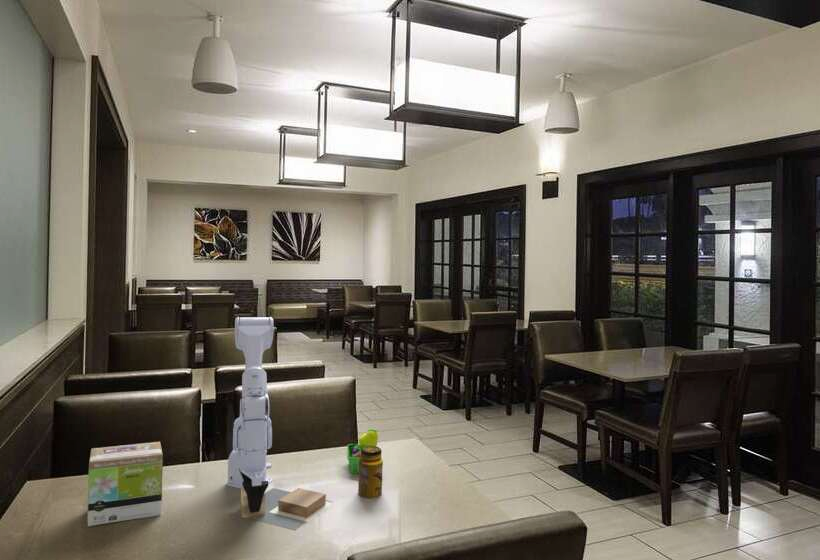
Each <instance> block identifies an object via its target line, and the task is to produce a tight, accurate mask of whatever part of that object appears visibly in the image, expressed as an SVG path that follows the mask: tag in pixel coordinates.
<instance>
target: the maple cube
mask: <svg viewBox="0 0 820 560" xmlns="http://www.w3.org/2000/svg"><path fill="white" fill-rule="evenodd" d="M265 493H266V492H265ZM265 493H264V495H263V499H262V503H261V508H260V511H259V512H254V513H250V510H249V506H248V498H247V494H246V492H245V490H244V488H241V489H240V507H241V512H242V516H241V517H242V519H243V518H244V519H245V518H246V517H252V516H260V515H265Z"/></svg>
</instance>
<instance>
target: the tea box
mask: <svg viewBox="0 0 820 560" xmlns="http://www.w3.org/2000/svg"><path fill="white" fill-rule="evenodd" d="M162 449H163V448H162V445H161V441H152V442H142V443H134V444H125V445H115V446H114V445H113V446H106V447H105V446H102V447H93V448H91V449H90V456H89V462H88V483H87V487H88V489H87V490H88V491H87V527H88V528H89V527H93V526H97V525H98V526H99V525H103V524H109V523H117V522H123V521H129V520H130V521H131V520H137V519H138V520H139V519H143V518H144V519H145V518H150V517H152V518H154V517H159V516H160V517H161V514H162V505H163V503H162V502H163V468H164V465H163V463H164V461H163V459H164V454H163V450H162Z"/></svg>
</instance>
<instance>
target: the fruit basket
mask: <svg viewBox="0 0 820 560" xmlns="http://www.w3.org/2000/svg"><path fill="white" fill-rule="evenodd" d="M378 440H379V434H378V430H376V428H369V429H368V430H367V432H366V433H364V434H362V435H360V436H359V438H358V442H359V443H350V444H347V445H346V446H347V451H346V458H347V461H348V465H349V468H350V473H351V474H359V460H360V458H361V450H362V448H363V447H366V446H376V447H378Z"/></svg>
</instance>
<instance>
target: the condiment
mask: <svg viewBox="0 0 820 560" xmlns="http://www.w3.org/2000/svg"><path fill="white" fill-rule="evenodd" d="M383 462H384V460H383V458H382V449H381V448H380V446H366V447H363V448H362V450H361V458H360V460H359V473H358V489H357V491H358V495H359V496H360V497H361V498H364V499H375V498H378V497H380V496H381V495H382V493H383V465H384V464H383Z"/></svg>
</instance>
